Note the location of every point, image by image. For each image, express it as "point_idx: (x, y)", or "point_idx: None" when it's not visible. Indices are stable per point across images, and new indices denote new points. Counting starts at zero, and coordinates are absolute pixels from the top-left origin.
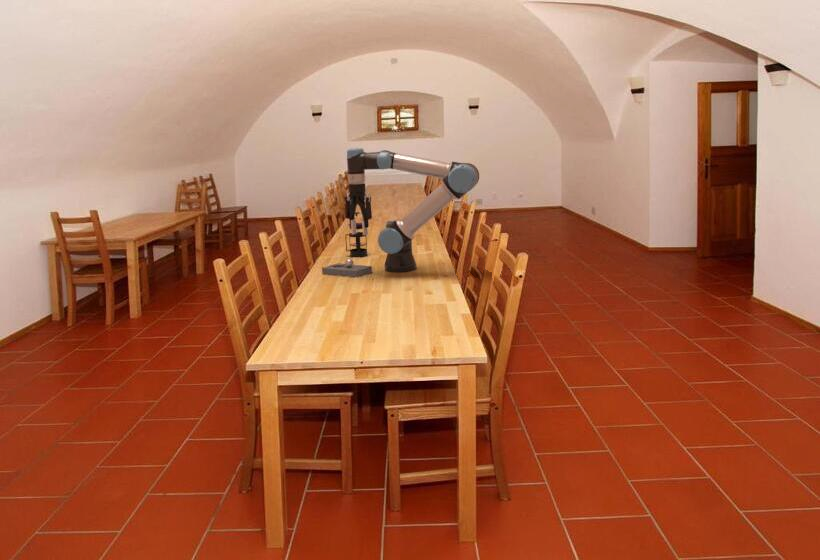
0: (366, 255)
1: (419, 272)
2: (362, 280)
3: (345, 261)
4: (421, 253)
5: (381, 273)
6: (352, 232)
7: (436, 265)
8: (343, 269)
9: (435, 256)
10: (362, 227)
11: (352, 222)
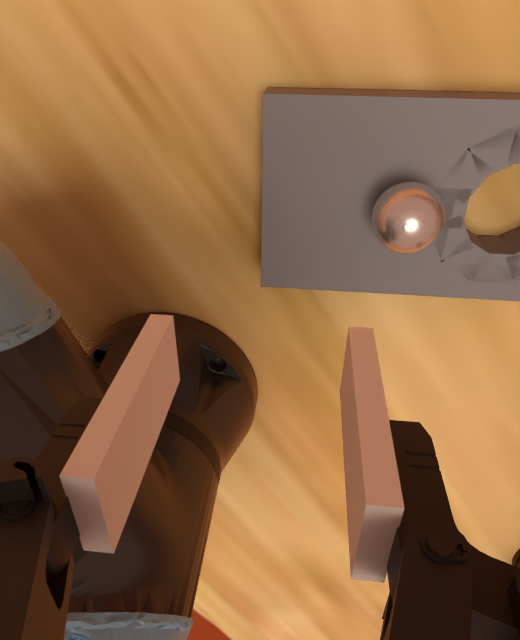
0: (514, 563)
1: None
2: (164, 12)
3: (431, 197)
4: (290, 617)
5: (194, 263)
6: (356, 344)
7: None
8: (407, 113)
9: (202, 588)
10: (137, 384)
11: (361, 471)
